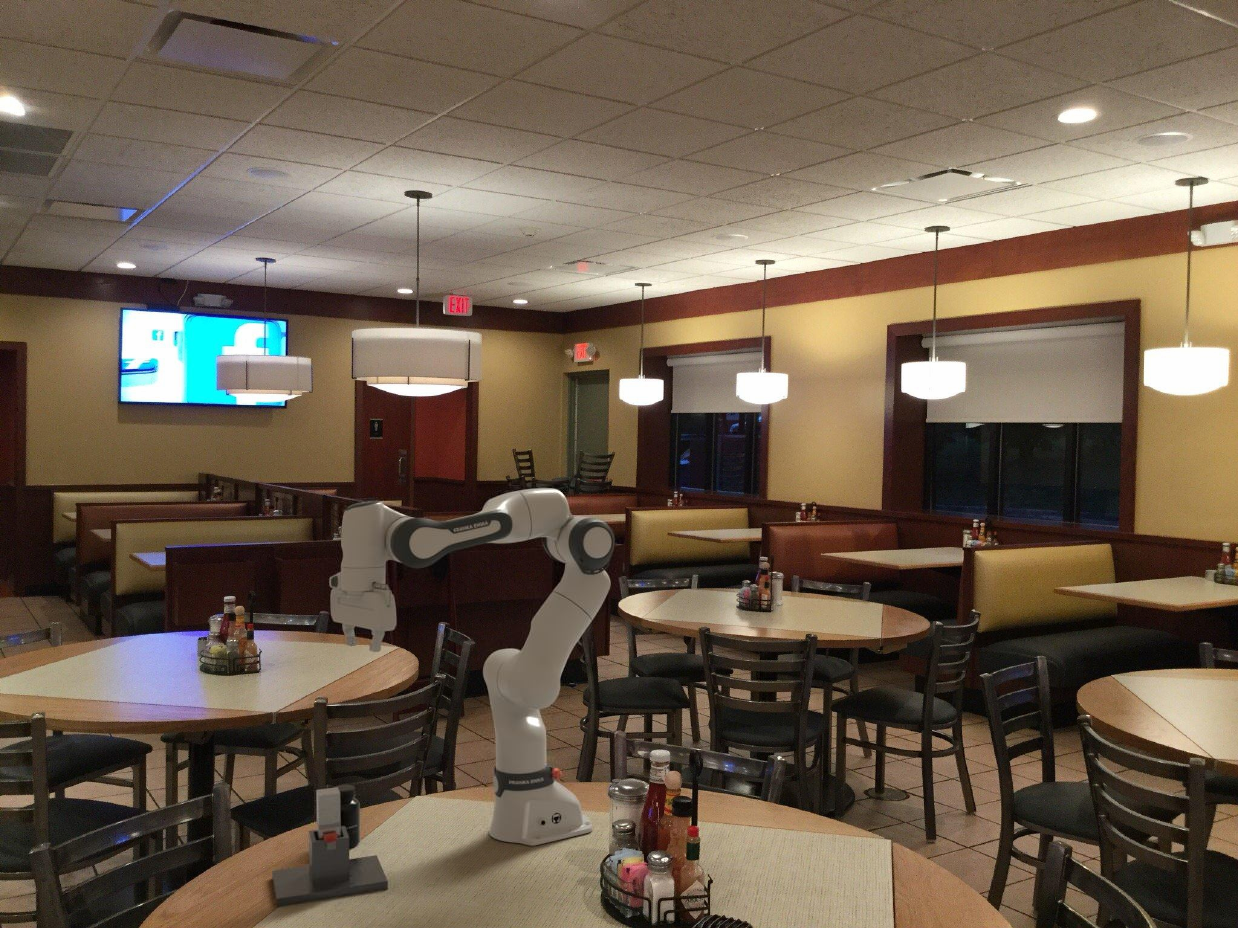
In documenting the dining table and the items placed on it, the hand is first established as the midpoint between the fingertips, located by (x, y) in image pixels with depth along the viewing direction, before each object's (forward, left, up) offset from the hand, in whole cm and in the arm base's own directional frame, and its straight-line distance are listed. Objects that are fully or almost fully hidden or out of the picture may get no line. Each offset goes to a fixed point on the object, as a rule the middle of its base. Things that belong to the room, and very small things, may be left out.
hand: (362, 648), depth 208 cm
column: (+8, +9, -41) cm, 43 cm away
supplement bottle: (+3, -11, -43) cm, 45 cm away
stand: (+8, +9, -43) cm, 45 cm away
